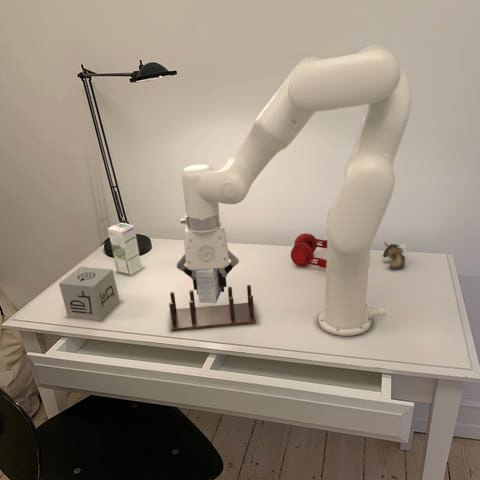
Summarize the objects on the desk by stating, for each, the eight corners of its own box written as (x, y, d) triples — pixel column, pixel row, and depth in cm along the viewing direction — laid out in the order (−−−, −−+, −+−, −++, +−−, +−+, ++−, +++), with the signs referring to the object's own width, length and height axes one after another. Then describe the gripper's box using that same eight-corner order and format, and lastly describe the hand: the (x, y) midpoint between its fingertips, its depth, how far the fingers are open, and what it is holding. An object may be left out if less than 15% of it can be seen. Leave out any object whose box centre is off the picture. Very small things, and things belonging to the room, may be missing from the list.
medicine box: (216, 304, 125) (213, 271, 120) (198, 303, 126) (195, 271, 121) (222, 288, 131) (220, 257, 127) (206, 288, 132) (203, 257, 128)
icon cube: (101, 320, 134) (93, 286, 129) (68, 316, 137) (58, 283, 131) (119, 302, 142) (112, 269, 137) (88, 298, 145) (80, 266, 140)
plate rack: (252, 304, 136) (250, 282, 133) (255, 323, 128) (254, 299, 124) (172, 311, 136) (169, 289, 132) (171, 331, 127) (167, 307, 124)
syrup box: (142, 268, 160) (134, 224, 152) (129, 276, 156) (121, 231, 148) (129, 264, 163) (120, 221, 155) (116, 272, 158) (106, 228, 151)
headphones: (287, 268, 152) (355, 280, 149) (290, 246, 148) (360, 259, 145) (294, 248, 164) (357, 259, 161) (297, 227, 160) (362, 238, 157)
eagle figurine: (376, 252, 156) (376, 260, 148) (391, 233, 153) (392, 240, 145) (396, 267, 156) (398, 275, 148) (412, 248, 153) (414, 255, 145)
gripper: (165, 230, 115) (175, 301, 124) (241, 223, 115) (246, 294, 125) (167, 218, 121) (176, 286, 131) (239, 212, 122) (243, 280, 131)
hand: (210, 289), depth 128 cm, fingers closed on medicine box, 5 cm apart
